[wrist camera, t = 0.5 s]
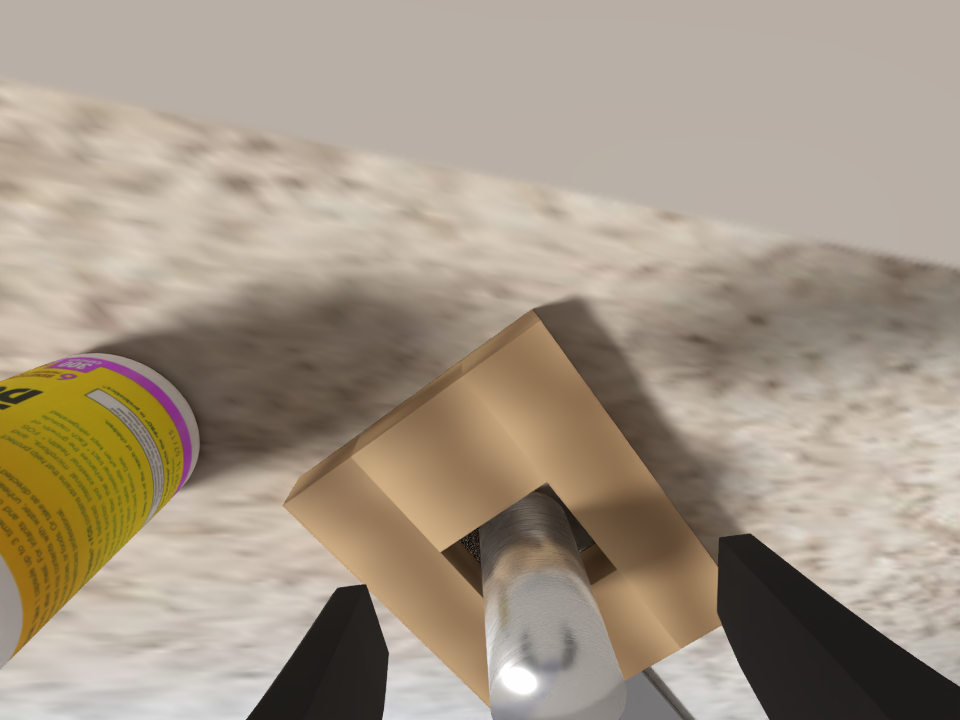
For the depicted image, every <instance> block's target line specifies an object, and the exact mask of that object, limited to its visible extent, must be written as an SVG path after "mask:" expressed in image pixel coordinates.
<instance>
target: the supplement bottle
mask: <svg viewBox="0 0 960 720" xmlns="http://www.w3.org/2000/svg"><path fill="white" fill-rule="evenodd" d="M199 447H200V439H199V430H198V426H197V423H196V419H195V417H194V414H193V412H192V410H191V408H190V406H189V404H188V403H187V401H186V400H185V398H184V397H183V396H182V394H181V393H180V392H179V391H178V390H177V389H176V388H175V387H174V386H173V385H172V384H171V383H170V382H169V381H168V380H167V379H165V378H164V377H163V376H162V375H160V374H159V373H157V372H156V371H154V370H153V369H151V368H149V367H147V366H145V365H143V364H141V363H139V362H137V361H134V360H131V359H128V358H125V357H121V356H117V355H111V354H102V353H89V354H79V355H74V356H69V357H65V358H63V359H60V360H57V361H54V362H51V363H48V364H45V365H42V366H40V367H37V368H34V369H32V370H29V371H26V372H24V373H21V374H19V375H16V376H13V377H11V378H8V379H6V380H3V381H0V669H1V668H2V667H3V666H4V665H5V664H6V663H7V662H8V661H9V660H10V659H11V658H12V657H13V656H14V655H15V654H16V653H17V652H18V651H19V650H20V649H21V648H22V647H23V646H24V645H25V644H26V643H27V642H28V641H29V640H30V639H31V638H32V637H33V636H34V635H35V634H36V633H37V632H38V631H39V630H40V629H41V628H42V627H43V626H44V625H45V624H46V623H47V622H48V621H49V620H50V619H51V618H52V617H53V616H54V615H55V614H56V613H57V612H58V611H59V610H60V609H61V608H62V607H63V606H64V605H65V604H66V603H67V602H68V601H69V600H70V599H71V598H72V597H73V596H74V595H75V594H76V593H77V592H78V591H79V590H80V589H81V588H82V587H83V586H84V585H85V584H86V583H87V582H88V581H89V580H90V579H91V578H92V577H93V576H94V575H95V574H96V573H97V572H98V571H99V570H100V569H101V568H102V567H103V566H104V565H105V564H106V563H107V562H108V561H109V560H110V559H111V558H112V557H113V556H114V555H115V554H116V553H117V552H118V551H119V550H120V549H121V548H122V547H123V546H124V545H125V544H126V543H127V542H128V541H129V540H130V539H131V538H132V537H133V536H134V535H135V534H136V533H137V532H138V531H139V530H140V529H141V528H142V527H143V526H144V525H146V524H147V523H148V522H149V521H150V520H151V519H152V518H153V517H154V516H155V515H156V514H157V513H158V512H159V511H160V510H161V509H162V508H163V507H164V506H165V505H166V504H167V502H168V501H169V500H170V499H171V498H172V497H173V496H174V495H175V494H176V493H177V492H178V491H179V490H180V489H181V488H182V487H183V485H184V484H185V483H186V482H187V480H188V479H189V477H190V476H191V474H192V472H193V470H194V468H195V465H196V463H197V459H198V455H199Z"/></svg>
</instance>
